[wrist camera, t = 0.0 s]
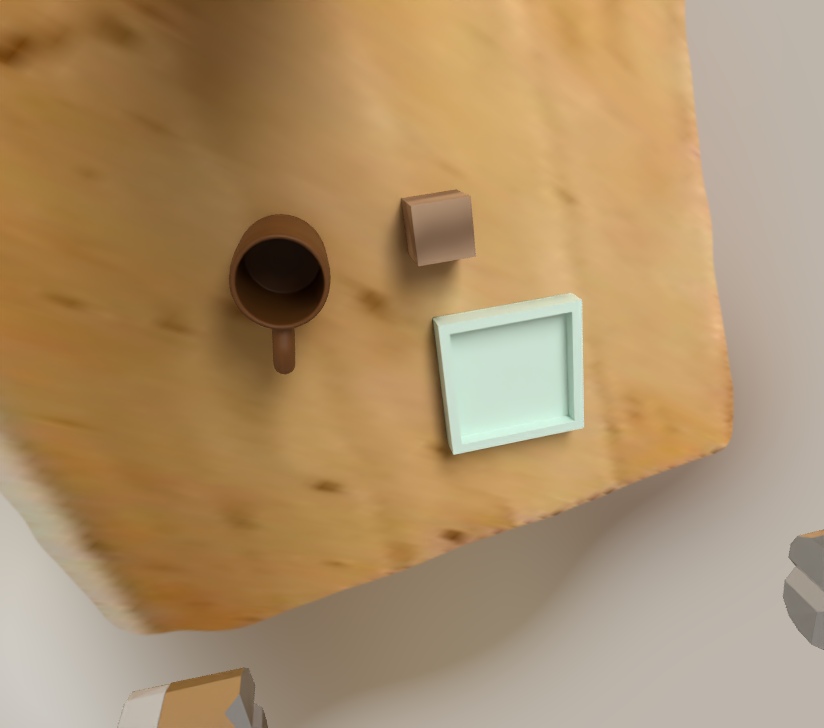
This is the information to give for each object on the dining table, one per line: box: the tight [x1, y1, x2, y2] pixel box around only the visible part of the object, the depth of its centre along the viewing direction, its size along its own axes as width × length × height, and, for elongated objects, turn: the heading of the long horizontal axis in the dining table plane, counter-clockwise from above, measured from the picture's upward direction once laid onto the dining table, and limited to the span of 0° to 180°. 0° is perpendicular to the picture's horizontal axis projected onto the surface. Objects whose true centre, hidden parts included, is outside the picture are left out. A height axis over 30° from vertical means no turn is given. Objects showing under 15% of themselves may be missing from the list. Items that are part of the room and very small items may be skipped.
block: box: [401, 190, 476, 266], centre depth 52 cm, size 5×5×5 cm
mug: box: [229, 214, 330, 374], centre depth 50 cm, size 12×8×9 cm, turn 178°
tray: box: [433, 293, 584, 455], centre depth 61 cm, size 14×14×2 cm
